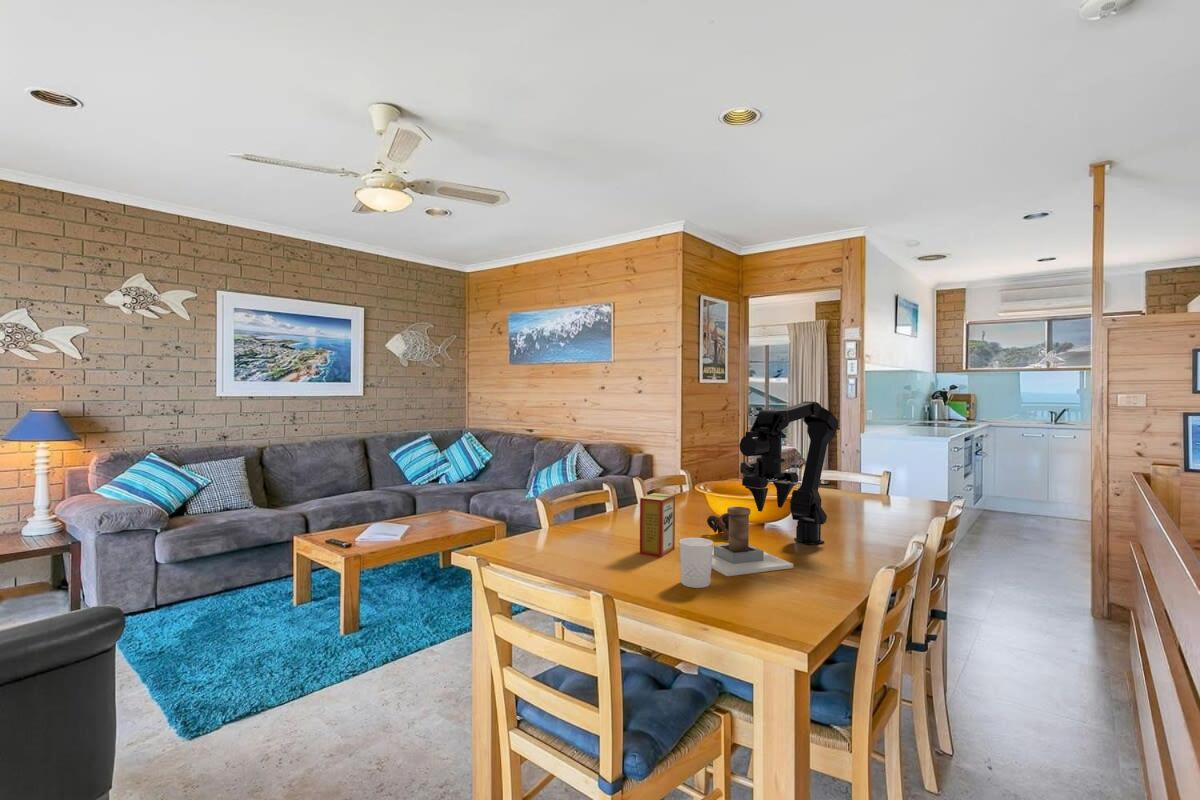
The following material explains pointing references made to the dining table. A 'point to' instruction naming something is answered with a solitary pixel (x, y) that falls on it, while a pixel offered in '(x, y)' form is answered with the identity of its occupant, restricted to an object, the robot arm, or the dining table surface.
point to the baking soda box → (657, 524)
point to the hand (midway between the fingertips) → (770, 509)
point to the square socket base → (745, 561)
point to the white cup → (695, 561)
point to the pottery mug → (720, 524)
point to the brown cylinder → (738, 529)
